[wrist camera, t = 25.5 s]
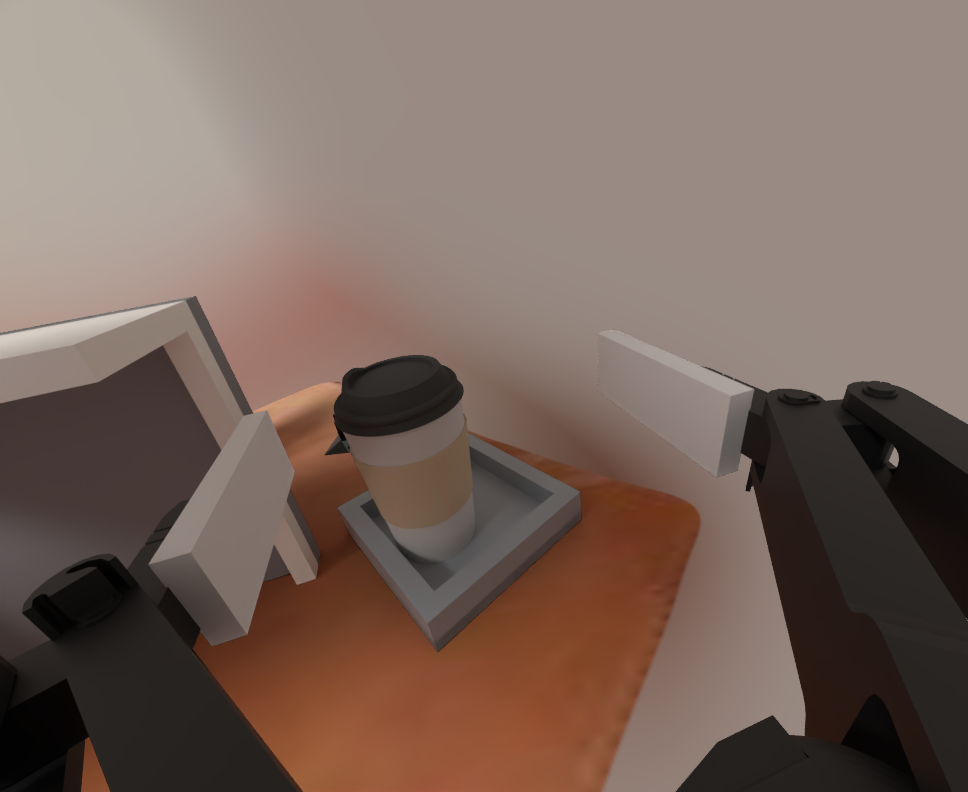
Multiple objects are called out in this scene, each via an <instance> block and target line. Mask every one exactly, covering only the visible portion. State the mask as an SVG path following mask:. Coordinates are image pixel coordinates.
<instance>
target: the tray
mask: <svg viewBox="0 0 968 792" xmlns="http://www.w3.org/2000/svg"><path fill="white" fill-rule="evenodd" d="M468 440H469V450H470V460H471V470H472V480H473V489H472V494H473V503H474V511H475V520H476V528H475V532H474V535H473V537H472V539H471V541H470V542H469V544H468V545H467V546H466V547H465V548H464V549H463V550H462V551H461V552H459V553H458V554H457V555H455V556H453V557H452V558H450V559H447V560H445V561H442V562H438V563H433V564H421V563H416V562H413V561H411V560H409V559H407V558H406V557H405V556H404V555H403V554H402V553H401V551H400V549H399V547H398V545H397V543H396V541H395V539H394V537H393V535H392V532H391V530H390V528H389V526H388V524H387V522H386V520H385V519H384V518H383V517H382V515H381V513H380V511H379V509H378V507H377V505H376V503H375V501H374V499H373V497H372V495H371V493H370V491H369V490H367V491H365V492H364V493H362V494H360V495H358V496H357V497H355V498H353V499H351V500H350V501H348V502H346V503H344V504H343V505H341V506H339V507H338V510H339V513H340V515H341V517H342V520H343V522H344V524H345V527H346V529H347V531H348V533H349V534H350V536H351V537H352V538H353V540H354V541H355V542H356V544H357V545H358V546H359V548H360V549H361V550H362V552H363V553H364V554H365V556H366V557H367V558H368V560H369V561H370V562H371V564H372V565H373V566H374V568H375V569H376V570H377V572H378V573H379V574H380V576H381V577H382V578H383V580H384V581H385V582H386V584H387V585H388V586H389V588H390V589H391V590H392V592H393V593H394V594H395V596H396V597H397V598H398V600H399V601H400V602H401V604H402V605H403V606H404V608H405V609H406V610H407V612H408V613H409V614H410V616H411V617H412V618H413V620H414V621H415V623H416V624H417V625H418V627H419V628H420V629H421V631H422V632H423V633H424V635H425V636H426V637H427V639H428V640H429V641H430V643H431V644H432V645H433V647H434V648H435V649H436V651H437V652H439V651H440V650H441V649H442V648H443V647H444V646H445V645H446V644H447V643H448V642H449V641H450V640H452V639H453V638H454V637H455V636H456V635H457V634H458V633H459V632H460V631H461V630H462V629H463V628H464V627H466V626H467V625H468V624H469V623H470V622H471V621H472V620H473V619H474V618H475V617H476V616H477V615H479V614H480V613H481V612H482V611H483V610H484V609H485V608H486V607H487V606H488V605H489V604H490V603H491V602H493V601H494V600H495V599H496V598H497V597H498V596H499V595H500V594H501V593H502V592H503V591H504V590H506V589H507V588H508V587H509V586H510V585H511V584H512V583H513V582H514V581H515V580H516V579H517V578H518V577H520V576H521V575H522V574H523V573H524V572H525V571H526V570H527V569H528V568H529V567H530V566H531V565H533V564H534V563H535V562H536V561H537V560H538V559H539V558H540V557H541V556H542V555H543V554H544V553H545V552H547V551H548V550H549V549H550V548H551V547H552V546H553V545H554V544H555V543H556V542H557V541H558V540H560V539H561V538H562V537H563V536H564V535H565V534H566V533H567V532H568V531H569V530H570V529H571V528H572V527H574V526H575V525H576V524H577V523H578V522H579V521H580V520H581V519H582V515H581V495H580V491H578V490H576V489H574V488H572V487H570V486H569V485H567V484H565V483H563V482H561V481H559V480H557V479H555V478H553V477H551V476H549V475H548V474H546V473H544V472H542V471H540V470H538V469H536V468H534V467H532V466H530V465H528V464H527V463H525V462H523V461H521V460H519V459H517V458H515V457H513V456H511V455H509V454H508V453H506V452H504V451H502V450H500V449H498V448H496V447H494V446H492V445H490V444H488V443H487V442H485V441H483V440H481V439H479V438H477V437H475V436H473V435H471V434H469V433H468Z"/></svg>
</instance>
